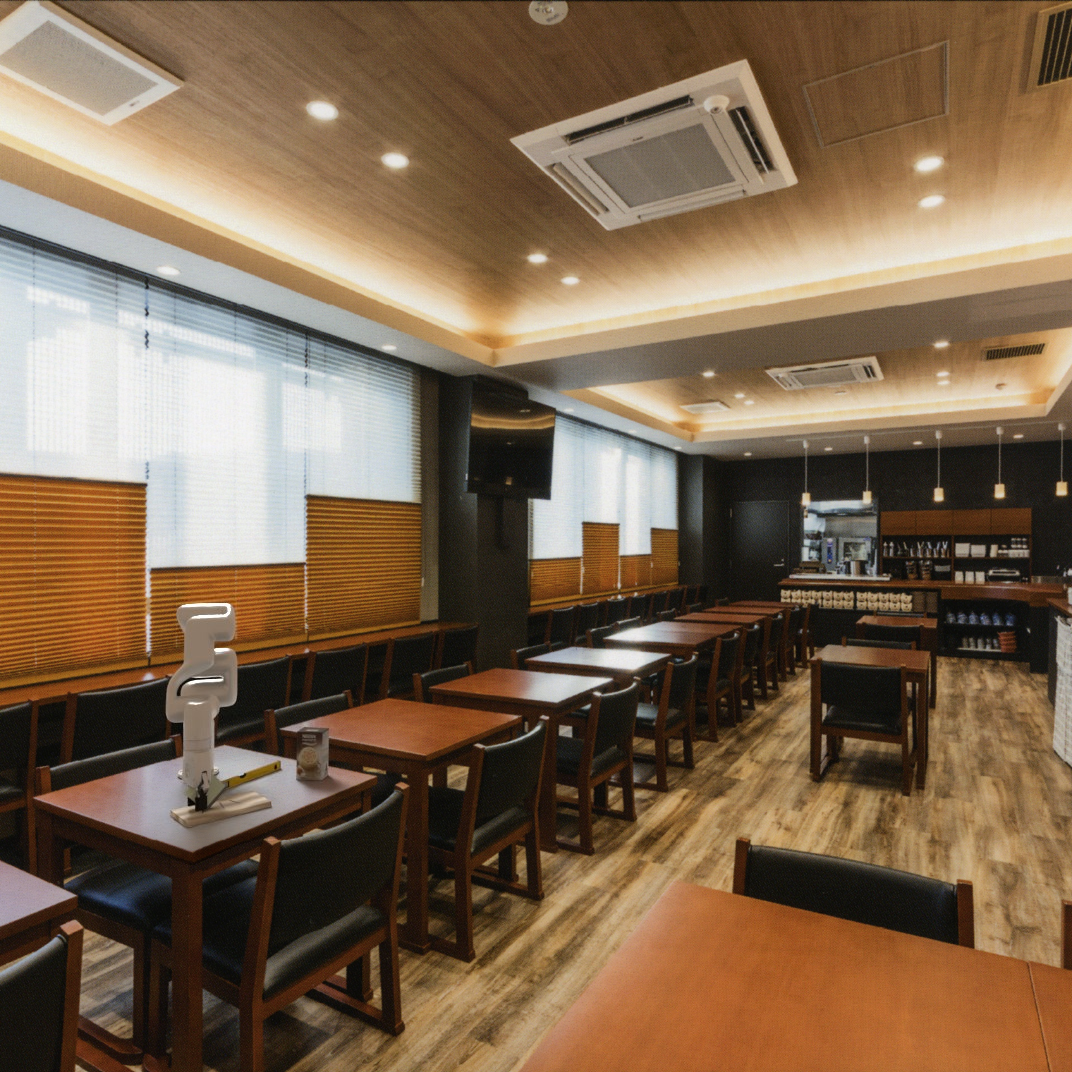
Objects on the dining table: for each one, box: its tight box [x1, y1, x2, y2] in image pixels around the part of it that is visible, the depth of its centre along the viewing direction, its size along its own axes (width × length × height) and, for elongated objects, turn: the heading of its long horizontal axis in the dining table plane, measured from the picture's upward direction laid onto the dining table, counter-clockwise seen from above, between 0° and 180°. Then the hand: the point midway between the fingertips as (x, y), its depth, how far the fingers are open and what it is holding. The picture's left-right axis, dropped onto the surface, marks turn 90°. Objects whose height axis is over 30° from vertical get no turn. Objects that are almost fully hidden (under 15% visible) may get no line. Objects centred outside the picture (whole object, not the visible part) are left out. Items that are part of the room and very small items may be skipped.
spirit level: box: [220, 760, 282, 789], centre depth 240 cm, size 33×1×3 cm, turn 155°
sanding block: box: [183, 773, 229, 811], centre depth 212 cm, size 5×8×7 cm
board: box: [170, 790, 272, 829], centre depth 215 cm, size 13×24×2 cm, turn 134°
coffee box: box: [295, 726, 330, 781], centre depth 246 cm, size 9×6×16 cm
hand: (197, 807), depth 210 cm, fingers closed on sanding block, 5 cm apart
